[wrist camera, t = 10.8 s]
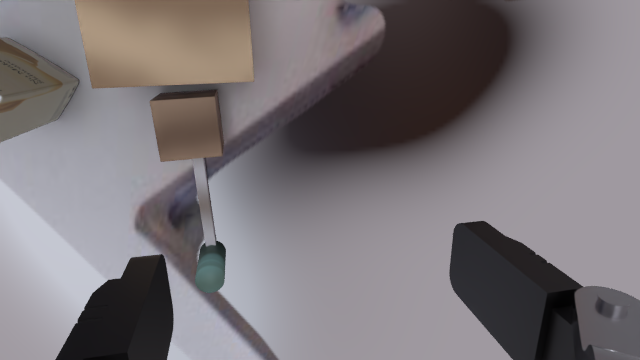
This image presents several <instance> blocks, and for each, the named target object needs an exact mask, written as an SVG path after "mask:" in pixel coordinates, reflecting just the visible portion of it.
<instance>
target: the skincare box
mask: <svg viewBox="0 0 640 360" xmlns="http://www.w3.org/2000/svg"><path fill="white" fill-rule="evenodd" d="M78 83H79V80H78V79H77V78H75V77H74V76H72V75H71V74H69V73H68V72H66V71H64V70H63V69H61V68H60V67H58V66H56V65H55V64H53V63H51V62H50V61H48V60H46V59H45V58H43V57H41V56H40V55H38V54H36V53H34V52H33V51H31V50H29V49H27V48H26V47H24V46H22V45H20V44H18V43H16V42H15V41H13V40H11V39H9V38H0V142H2V141H5V140H7V139H10V138H13V137H15V136H18V135H20V134H23V133H25V132H28V131H30V130H33V129H35V128H38V127H40V126H43V125H45V124H48V123H50V122H53V121H55V120H57V119H58V118H59V116H60V115H61V113H62V112H63V110H64V108H65V107H66V105H67V103H68V102H69V100H70V98H71V97H72V95H73V93H74V91H75V89H76V87H77V85H78Z"/></svg>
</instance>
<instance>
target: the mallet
mask: <svg viewBox="0 0 640 360" xmlns="http://www.w3.org/2000/svg"><path fill="white" fill-rule="evenodd" d="M150 106H151V111H152V117H153V122H154V128H155V133H156V139H157V144H158V150H159V155H160V161H161V162H164V161H175V160H185V159H192V160H193V167H194V173H195V180H196V186H197V193H198V199H199V206H200V212H201V218H202V225H203V231H204V238H205V243H204V244H203V245H202V247H201V249H200V254H199V260H198V266H197V272H196V278H195V283H196V286H197V287H198V288H199V289H200V290H201V291H203V292H207V293H211V292H215V291H218V290H219V289H220V288H221V287H222V286H223V284H224V279H225V257H226V249H225V247H224V245H223V244H222V243H220V242H218V241H216V235H215V228H214V221H213V214H212V207H211V200H210V193H209V186H208V179H207V172H206V165H205V158H207V157H217V156H222V154H223V146H224V140H223V132H222V124H221V116H220V108H219V100H218V92H217V90H203V91H188V92H174V93H160V94H159V95H158V96H156V97H155V98H153V99H152V100H151V101H150Z"/></svg>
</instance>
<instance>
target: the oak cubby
mask: <svg viewBox="0 0 640 360" xmlns="http://www.w3.org/2000/svg"><path fill="white" fill-rule="evenodd" d="M75 5H76V10H77V15H78V20H79V25H80V30H81V35H82V40H83V45H84V50H85V55H86V60H87V65H88V70H89V75H90V80H91V85H92V88H114V87H138V86H162V85H186V84H209V83H233V82H254V71H253V57H252V44H251V30H250V16H249V3H248V0H75Z"/></svg>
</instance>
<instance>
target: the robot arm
mask: <svg viewBox="0 0 640 360" xmlns="http://www.w3.org/2000/svg"><path fill="white" fill-rule="evenodd" d="M450 280H451V285H452V287H453V290H454V291H455V293H456V294H457V295H458V297H459V298H460V299H461V300H462V301H463V302H464V304H466V306H467V307H468V308H469V309H470V310H471V311H472V313H473V314H474V315H475V316H476V317H477V318H478V320H479V321H480V322H481V323H482V324H483V325H484V327H485V328H486V329H487V330H488V331H489V332H490V334H491V335H492V336H493V337H494V338H495V339H496V340H497V342H498V343H499V344H500V345H501V346H502V347H503V349H504V350H505V351H506V352H507V353H508V354H509V355H510V357H511V358H512V359H513V360H640V301H639V300H638V299H636V298H634V297H632V296H630V295H628V294H626V293H623V292H621V291H617V290H614V289H610V288H606V287H598V286H588V287H583V286H581V285H580V284H579V283H577V282H576V281H574V280H573V279H571V278H570V277H569V276H567V275H566V274H565V273H563V272H562V271H560V270H559V269H557V268H556V267H555V266H553V265H552V264H550V263H547V261H546V260H545V259H543V258H542V257H541V256H539V255H536V254H535V252H534V251H532V250H531V249H530V248H528V247H527V246H525V245H524V244H522V243H520V242H518V241H516V240H513V239H511V238H509V237H506V236H504V235H503V234H501V233H500V232H499V231H497V230H496V229H495V228H493V227H492V226H491V225H489V224H488V223H487V222H485V221H477V222H468V223H459V224H457V225H456V226H455V228H454V233H453V243H452V252H451V263H450ZM84 309H85V310H84V311H82V313H81V315H80V317H79V318H78V323H76V324H75V326H74V327H73V329H72V331H71V333H70V335H69V337H68V338H67V340H66V342H65V344H64V345H63V347H62V349H61V351H60V353H59V354H58V356H57V358H56V360H167V356H168V351H169V346H170V342H171V337H172V332H173V305H172V299H171V293H170V287H169V280H168V274H167V268H166V262H165V258H164V256H163V255H162V254H161V255H151V256H142V257H132V258H131V259H130V260H129V262H128V264H127V266H126V269H125V271H124V273H123V275H122V277H121V279H112V280H108V281H107V282H105V283H104V284H103V285H102V286H101V287H100V288H98V289H97V290H96V291H95V292H94V293H93V294H92V295H91V297H90V299H89V301H88V303H87V304H86V306H85V308H84Z"/></svg>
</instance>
